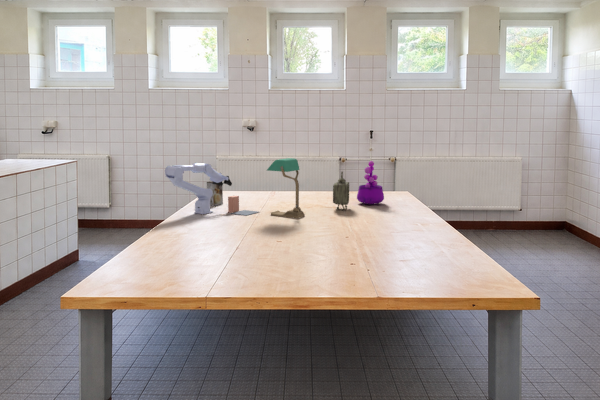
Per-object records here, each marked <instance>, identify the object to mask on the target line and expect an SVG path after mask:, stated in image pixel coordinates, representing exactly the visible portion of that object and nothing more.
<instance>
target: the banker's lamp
mask: <svg viewBox="0 0 600 400" xmlns="http://www.w3.org/2000/svg"><path fill="white" fill-rule="evenodd" d="M298 161H299V160H298V159H297V158H295V157H294V158H291V157H287V158H279V159H275V160H273V162H272V163H271V165H269V167H268V168H267V169H266V171H269V172H281V173H282V176H283V177H284V178H288V179H292V180H293V181H294V183H295V207H292V208H293V209H289V210H287V211H280V210H275V211H272V212H270V216H271V217H272V216H274V217H280V218H281V217H282V218H291V219H300V218H303V217H305V215H306V214H305V213H304V211H303V210H302V209H301V207H300V195H299V194H300V187H299V186H300V184H299V183H300V182H299V180H298V177H299V174H300V172H299V171H300V166H299V162H298ZM294 171H295V173H296V175H295V177H292V176H290V175H287V174H286V173H289V172H294Z"/></svg>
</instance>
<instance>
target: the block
mask: <svg viewBox="0 0 600 400" xmlns="http://www.w3.org/2000/svg"><path fill="white" fill-rule="evenodd" d="M227 202H228V204H227V207H228V208H227V211H228V213H230V214H231V213H234V212H238V211H240V205H239V204H240V196H239V195H231V196H227Z"/></svg>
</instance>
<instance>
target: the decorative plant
mask: <svg viewBox="0 0 600 400" xmlns="http://www.w3.org/2000/svg"><path fill="white" fill-rule="evenodd" d="M374 165H375V162H374V161H373V160H370V161H368V166H367V167H365V168H364V173H365V175H364V176H363V177H364V179H365V180H366V181H367V182H366V183H365V184H361V185H359V186H358V191H357V194H356V200H357V201H358V202H360V203H361V204H364V205H377V204H379V203H382V202H383V201H384V200H385V194H384V190H383V186H382V185H378V181H377V180H378V175H377V174H373V171H374V169H375V167H374Z"/></svg>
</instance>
